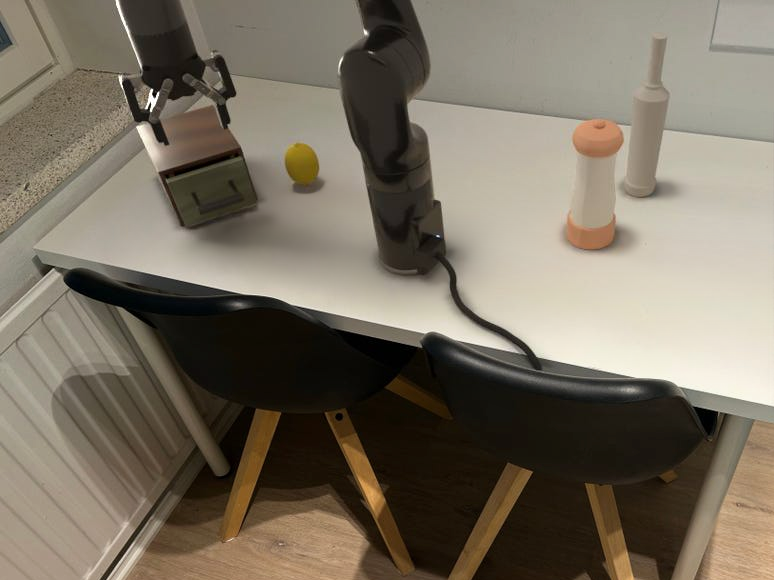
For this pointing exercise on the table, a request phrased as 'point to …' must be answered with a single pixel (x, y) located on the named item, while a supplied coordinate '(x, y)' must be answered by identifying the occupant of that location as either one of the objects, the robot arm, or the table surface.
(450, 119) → the table surface
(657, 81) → the bottle
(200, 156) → the cabinet
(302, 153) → the lemon
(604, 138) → the pepper shaker
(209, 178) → the drawer
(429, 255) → the robot arm
